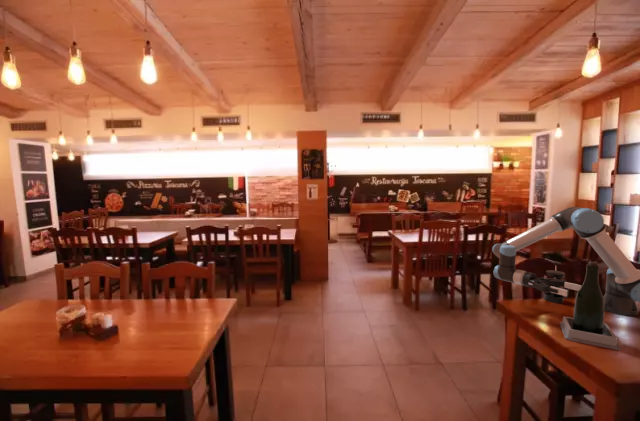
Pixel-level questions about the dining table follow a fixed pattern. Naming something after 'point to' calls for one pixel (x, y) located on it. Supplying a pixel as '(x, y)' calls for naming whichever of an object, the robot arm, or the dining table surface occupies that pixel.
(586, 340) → the bottle stand
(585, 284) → the beer bottle
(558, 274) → the french press
